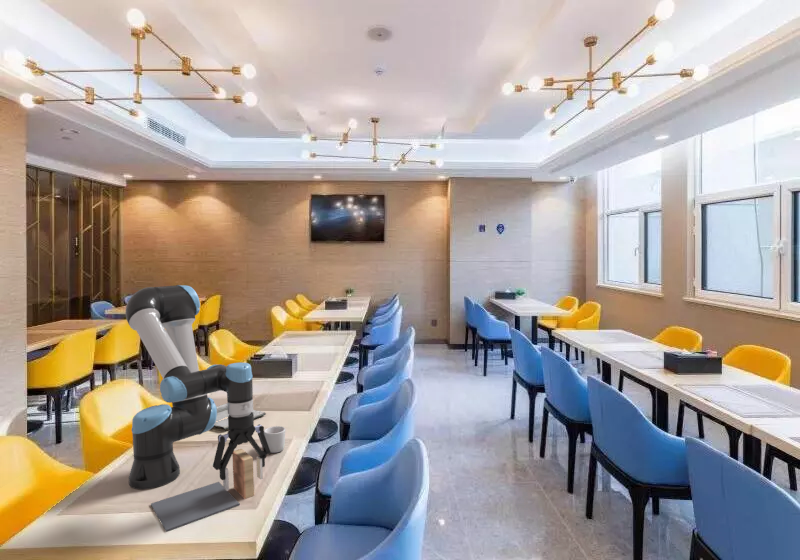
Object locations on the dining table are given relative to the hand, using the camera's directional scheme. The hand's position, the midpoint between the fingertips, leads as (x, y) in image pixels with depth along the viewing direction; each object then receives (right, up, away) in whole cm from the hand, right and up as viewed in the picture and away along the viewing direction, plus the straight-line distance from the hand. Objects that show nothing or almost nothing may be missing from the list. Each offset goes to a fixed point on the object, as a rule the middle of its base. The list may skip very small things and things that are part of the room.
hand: (243, 483), depth 146 cm
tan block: (0, -3, 0) cm, 3 cm away
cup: (+1, -1, +32) cm, 32 cm away
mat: (-29, 0, +66) cm, 72 cm away
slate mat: (-12, -3, -7) cm, 14 cm away
